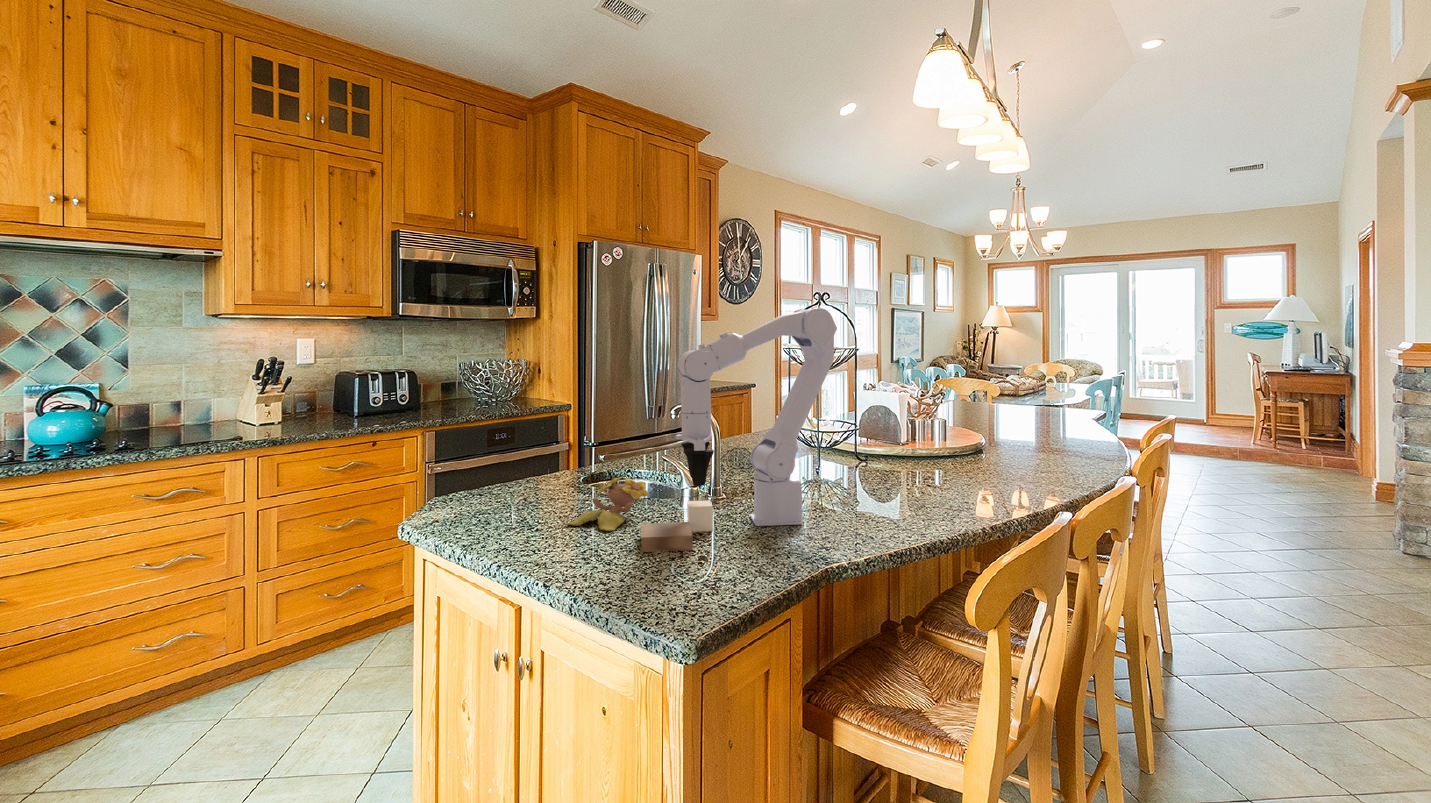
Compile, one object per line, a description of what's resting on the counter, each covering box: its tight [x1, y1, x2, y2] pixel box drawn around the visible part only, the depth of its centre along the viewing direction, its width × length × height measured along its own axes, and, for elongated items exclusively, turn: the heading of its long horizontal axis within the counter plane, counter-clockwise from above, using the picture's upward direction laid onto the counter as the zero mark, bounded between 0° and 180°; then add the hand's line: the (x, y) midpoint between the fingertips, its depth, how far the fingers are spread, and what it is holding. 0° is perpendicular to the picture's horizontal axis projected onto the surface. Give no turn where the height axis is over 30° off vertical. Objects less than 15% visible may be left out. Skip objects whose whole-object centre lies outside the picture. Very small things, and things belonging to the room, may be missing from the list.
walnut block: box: [640, 521, 694, 553], centre depth 126 cm, size 9×9×3 cm
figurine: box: [566, 476, 650, 532], centre depth 142 cm, size 12×9×15 cm
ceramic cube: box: [686, 500, 714, 533], centre depth 135 cm, size 5×5×5 cm
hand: (697, 481), depth 135 cm, fingers open, 7 cm apart
